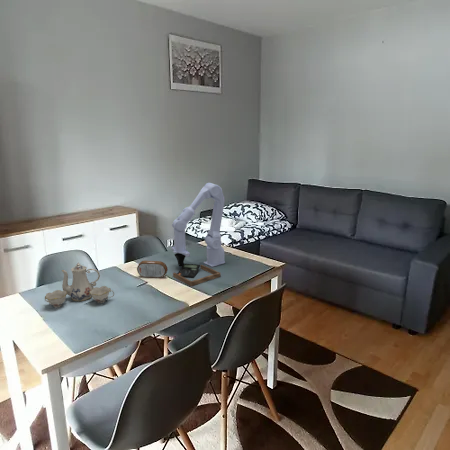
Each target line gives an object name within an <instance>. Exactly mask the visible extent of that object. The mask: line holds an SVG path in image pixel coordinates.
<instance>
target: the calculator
mask: <svg viewBox="0 0 450 450" xmlns="http://www.w3.org/2000/svg"><path fill="white" fill-rule="evenodd" d="M200 265H201V264H197V263H194V264H193V263H185V262H184V263H183V264H182V267H180V270H179V271H178V272H177V274H178V275H180V276H182V277H184V278H186V279H188V278H189V279H195V277H196V276H197V275H198V273H199V270H200Z"/></svg>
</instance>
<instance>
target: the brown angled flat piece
mask: <svg viewBox="0 0 450 450" xmlns="http://www.w3.org/2000/svg"><path fill="white" fill-rule="evenodd" d="M199 265H200V267H199V270H200V269H201V270H203V271H205V272H207V273H209V274H210V275H207V276H204V277H201V278H198V279H197V278H196V279H195V280H190V279H188V278H185V277H182V276H180V275H178V274H177V273H178V272H177V273H176V272H173V273H172V277H173V278H174V279H176V280H178V281H180V282H182V283H184V284H186V285H188V286H189V287H194V286H196V285H199V284H200V285H201V284H203V283H206V282H208V281H209V282H210V281H212V280H215V279H217V278H221V277H222V276H221V272H220V271H218V270H215V269H212V268H210V267H209V266H206V265H205V264H199Z"/></svg>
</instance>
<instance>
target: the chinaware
mask: <svg viewBox="0 0 450 450" xmlns="http://www.w3.org/2000/svg"><path fill="white" fill-rule="evenodd" d="M76 263H77V264H75V266H73V267H71V269H70V271H71V273H72V281H71V282H72V283H71V285H69V284H68V283H69V275H68V271H66V270H65V269H62V270H61V272H62V273H63V279H62V283H61V284H62V287H61V288H62V290H60V289H56V290H53V292H47V293H46V294H45V296H44V300H45V302H46V303H49V305H51V306H52V307H54V308H55V309H56V308H60V307H62V306H63V303H64V302H65V301H66V299H67V296H69V297H71V300H72V301H73V302H83V301H87V300H90V299H91V298H92V299H93V300H94V301H95V302H97V304H103V303H105V302H106V300H109V295H110V293H111V292H112V293H113V295H112V296H110V298H113V297H114V295H115V291H114V290H113V289H112V290H111V288H110V287H108V286H105V285H101V286H99V287H96V286H97V282H98V281H99V280H100V276H101V275H100V272H99V271H98V269H96V268H89V269H87V268H88V267H87V266H85V265H83V264H81V263H80V262H76ZM91 271H95V272H96V273H97V276H98V277H97V278H96V279H95V280H94V281H91V282H90V281H89V279H88V276H87V273H88V274H91Z"/></svg>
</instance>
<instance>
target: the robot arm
mask: <svg viewBox="0 0 450 450" xmlns="http://www.w3.org/2000/svg"><path fill="white" fill-rule="evenodd" d="M223 192H224V191H223V188H222V187H221V186H220V185H219V184H216V183H215V184H214V183H212V182H207V183H205V184H204V186H203V187H202V188H201V189H200V191H199V192H198V194H197V196H195V198H194V200H193V201H192V202H191V204H190V205H189V206H186V207H185V208H183V209H182V211H181V213H180V214H179V216H176V218H175V219H174V220H173V221H172V223H171V226H172V228H173V239H174V241H173V242H174V246H171V251H172V253H174V257H175V259H176V260H177V265H178V267H179V268H181V267H182V264H183V263H184V264H185V262H184V261H185V258H189V257H191V252H189V251H188V250H187V247H186V246H187V245H186V229H187V225H188V223H189V222H190V221H191V220H192V218H193V217H194V215H196V214H195V213H196V210H197V209H198V207H199V206H200V205H201V204H202V203H203V202H204V201H205V200H206V199H212V200H213V201H214V202H213V207H212V215H211V222H210V225H209V227H210V228H209V230H208V231H207V233H206V236H205V238H204V243H205V244H206V261H203V264H204V265H207V266H208V267H212V268H213V267H216V266H220V265H223V264H225V263H226V261H225V249H224V248H223V246H222V236H221V226H222V220H223V213H224V208H225V200H226V199H225V195H224V193H223Z"/></svg>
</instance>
